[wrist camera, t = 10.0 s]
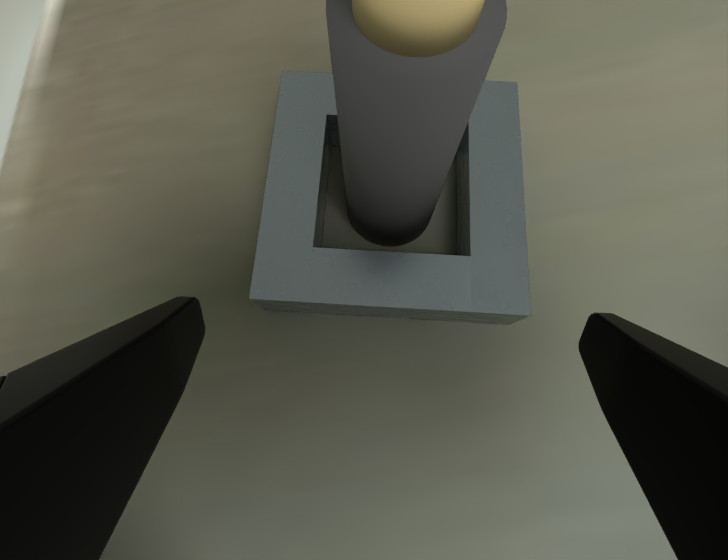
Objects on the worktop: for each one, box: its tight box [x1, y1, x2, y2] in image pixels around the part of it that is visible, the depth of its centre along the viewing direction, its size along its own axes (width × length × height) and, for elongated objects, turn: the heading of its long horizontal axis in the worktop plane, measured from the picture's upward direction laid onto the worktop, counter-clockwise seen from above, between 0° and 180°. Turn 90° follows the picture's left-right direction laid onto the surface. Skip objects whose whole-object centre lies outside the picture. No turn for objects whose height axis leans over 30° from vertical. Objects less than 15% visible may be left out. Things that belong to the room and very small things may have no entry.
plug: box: [326, 0, 507, 246], centre depth 14 cm, size 4×4×12 cm
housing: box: [249, 71, 531, 325], centre depth 19 cm, size 12×12×2 cm
